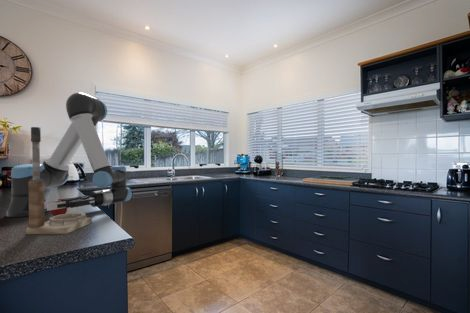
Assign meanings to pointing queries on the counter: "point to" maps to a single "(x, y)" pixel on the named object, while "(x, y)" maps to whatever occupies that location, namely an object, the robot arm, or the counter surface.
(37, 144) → the press
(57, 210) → the onion
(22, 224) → the counter surface
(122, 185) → the robot arm
